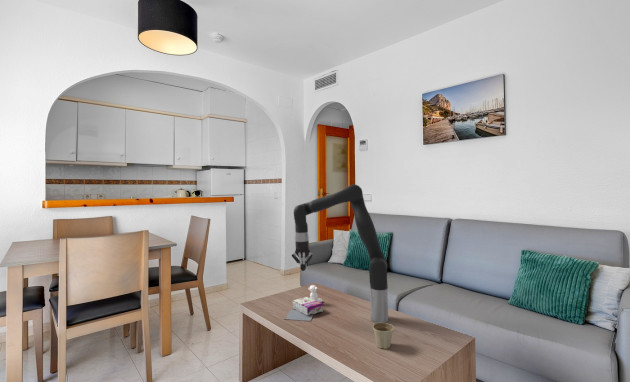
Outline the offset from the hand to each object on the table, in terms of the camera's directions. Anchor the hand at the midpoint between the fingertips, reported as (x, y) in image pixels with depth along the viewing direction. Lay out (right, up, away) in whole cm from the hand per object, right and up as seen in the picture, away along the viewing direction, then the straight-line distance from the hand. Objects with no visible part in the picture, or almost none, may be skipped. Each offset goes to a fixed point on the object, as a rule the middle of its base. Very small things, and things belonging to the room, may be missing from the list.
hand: (303, 270), depth 178 cm
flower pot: (+38, -26, -35) cm, 57 cm away
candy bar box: (+7, -23, 0) cm, 24 cm away
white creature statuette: (+6, -25, +17) cm, 31 cm away
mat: (-2, -26, 0) cm, 26 cm away
